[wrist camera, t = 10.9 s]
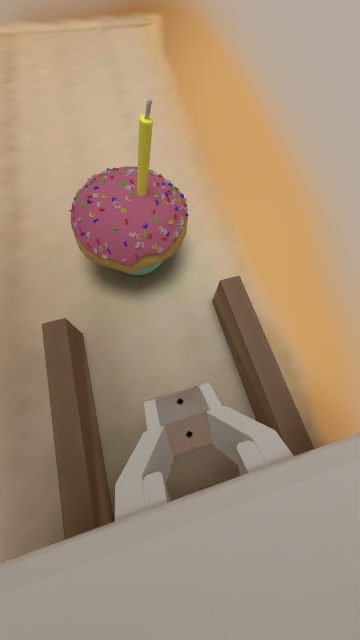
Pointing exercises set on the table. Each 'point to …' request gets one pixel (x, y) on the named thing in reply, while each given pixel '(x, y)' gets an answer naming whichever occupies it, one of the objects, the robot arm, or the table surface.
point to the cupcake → (130, 214)
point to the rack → (80, 417)
